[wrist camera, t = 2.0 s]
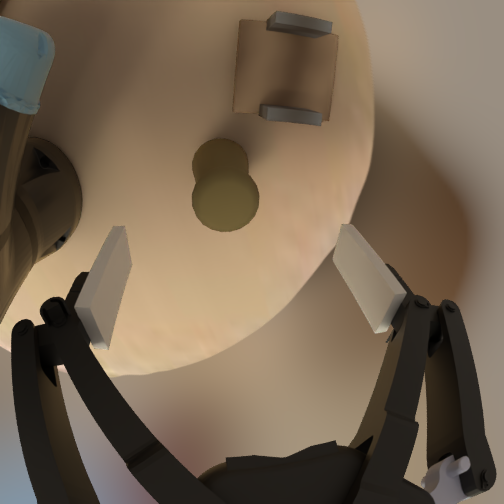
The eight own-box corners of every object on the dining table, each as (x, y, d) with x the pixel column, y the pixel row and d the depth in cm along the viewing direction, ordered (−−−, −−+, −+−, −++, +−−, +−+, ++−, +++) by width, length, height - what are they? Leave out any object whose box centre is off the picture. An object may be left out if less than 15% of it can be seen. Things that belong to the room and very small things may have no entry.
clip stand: (232, 112, 26) (237, 118, 22) (239, 20, 20) (246, 7, 16) (324, 121, 27) (345, 129, 23) (333, 35, 22) (356, 29, 17)
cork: (180, 166, 28) (167, 210, 19) (221, 126, 26) (228, 151, 18) (219, 201, 31) (226, 257, 22) (259, 165, 30) (285, 208, 21)
